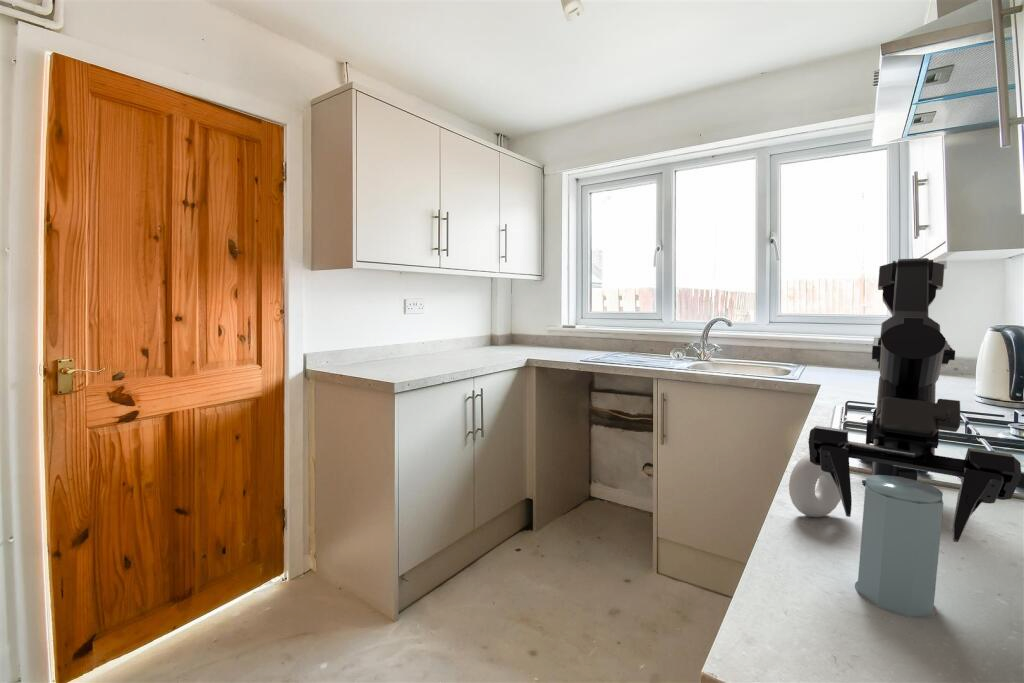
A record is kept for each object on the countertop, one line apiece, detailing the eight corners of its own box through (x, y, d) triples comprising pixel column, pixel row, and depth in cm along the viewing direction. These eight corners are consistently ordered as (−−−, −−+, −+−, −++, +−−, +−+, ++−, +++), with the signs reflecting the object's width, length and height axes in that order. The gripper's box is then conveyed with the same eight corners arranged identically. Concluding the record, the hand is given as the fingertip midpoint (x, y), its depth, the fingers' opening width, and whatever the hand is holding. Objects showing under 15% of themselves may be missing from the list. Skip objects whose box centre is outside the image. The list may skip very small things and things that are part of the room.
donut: (825, 506, 77) (830, 445, 76) (847, 515, 74) (852, 452, 73) (781, 516, 73) (785, 452, 72) (802, 526, 70) (807, 459, 69)
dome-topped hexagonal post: (843, 581, 56) (851, 475, 55) (893, 578, 56) (901, 474, 55) (893, 617, 49) (904, 499, 48) (948, 613, 50) (960, 496, 49)
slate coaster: (841, 579, 57) (841, 576, 57) (904, 583, 56) (904, 580, 56) (881, 618, 50) (881, 615, 50) (953, 623, 49) (954, 620, 49)
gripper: (815, 363, 61) (796, 472, 53) (1027, 379, 50) (1042, 521, 42) (818, 412, 68) (802, 515, 60) (1005, 437, 57) (1014, 567, 49)
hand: (899, 527), depth 53 cm, fingers open, 9 cm apart
